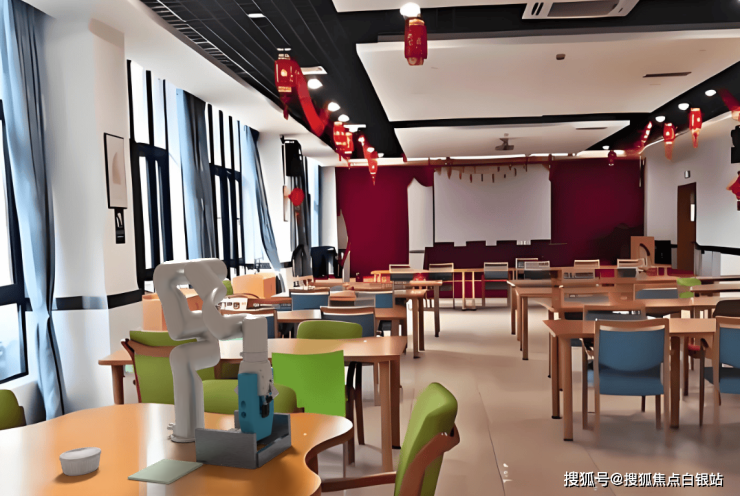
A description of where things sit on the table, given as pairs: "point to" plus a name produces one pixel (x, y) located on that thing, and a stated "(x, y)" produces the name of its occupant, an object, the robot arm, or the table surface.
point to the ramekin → (80, 461)
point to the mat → (165, 471)
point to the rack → (242, 444)
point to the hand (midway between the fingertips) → (256, 415)
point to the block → (253, 407)
